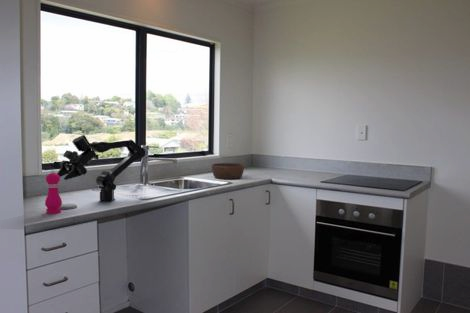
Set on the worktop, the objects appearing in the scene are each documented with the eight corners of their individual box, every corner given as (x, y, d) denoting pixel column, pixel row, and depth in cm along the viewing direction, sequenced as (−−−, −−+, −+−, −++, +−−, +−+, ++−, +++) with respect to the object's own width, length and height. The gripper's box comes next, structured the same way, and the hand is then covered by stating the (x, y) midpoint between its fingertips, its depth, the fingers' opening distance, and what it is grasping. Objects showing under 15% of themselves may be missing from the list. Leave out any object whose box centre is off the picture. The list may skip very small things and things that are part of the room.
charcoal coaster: (80, 205, 207) (80, 204, 207) (71, 210, 197) (71, 208, 197) (61, 205, 207) (61, 203, 207) (50, 209, 197) (50, 207, 197)
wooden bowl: (206, 176, 322) (206, 163, 321) (235, 175, 332) (235, 162, 331) (219, 181, 299) (219, 167, 298) (249, 179, 309) (249, 165, 309)
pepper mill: (52, 210, 196) (51, 168, 194) (65, 211, 194) (64, 169, 192) (41, 213, 189) (40, 170, 187) (54, 214, 187) (53, 171, 185)
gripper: (66, 145, 211) (41, 164, 203) (84, 146, 199) (58, 167, 190) (78, 161, 217) (55, 181, 208) (97, 164, 204) (72, 185, 196)
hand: (60, 178), depth 200 cm, fingers open, 9 cm apart
